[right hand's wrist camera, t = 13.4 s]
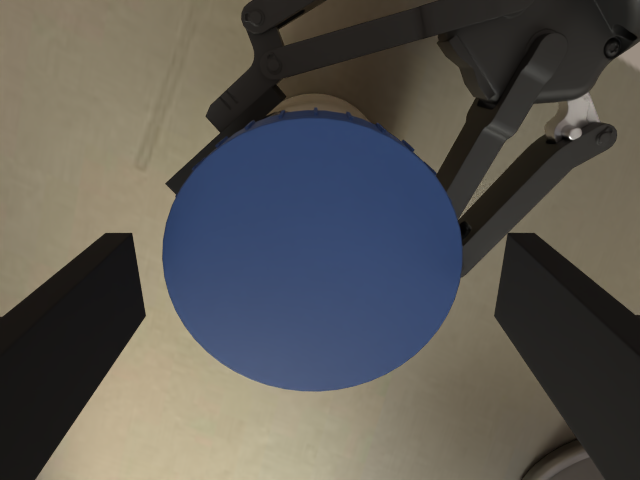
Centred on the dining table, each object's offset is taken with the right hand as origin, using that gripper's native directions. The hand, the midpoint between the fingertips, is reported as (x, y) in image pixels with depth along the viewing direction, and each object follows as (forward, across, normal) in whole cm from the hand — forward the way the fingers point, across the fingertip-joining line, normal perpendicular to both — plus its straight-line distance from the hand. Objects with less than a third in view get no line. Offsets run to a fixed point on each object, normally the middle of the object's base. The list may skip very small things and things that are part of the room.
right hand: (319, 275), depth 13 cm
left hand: (+10, -4, -3) cm, 11 cm away
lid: (+1, 0, 0) cm, 1 cm away
